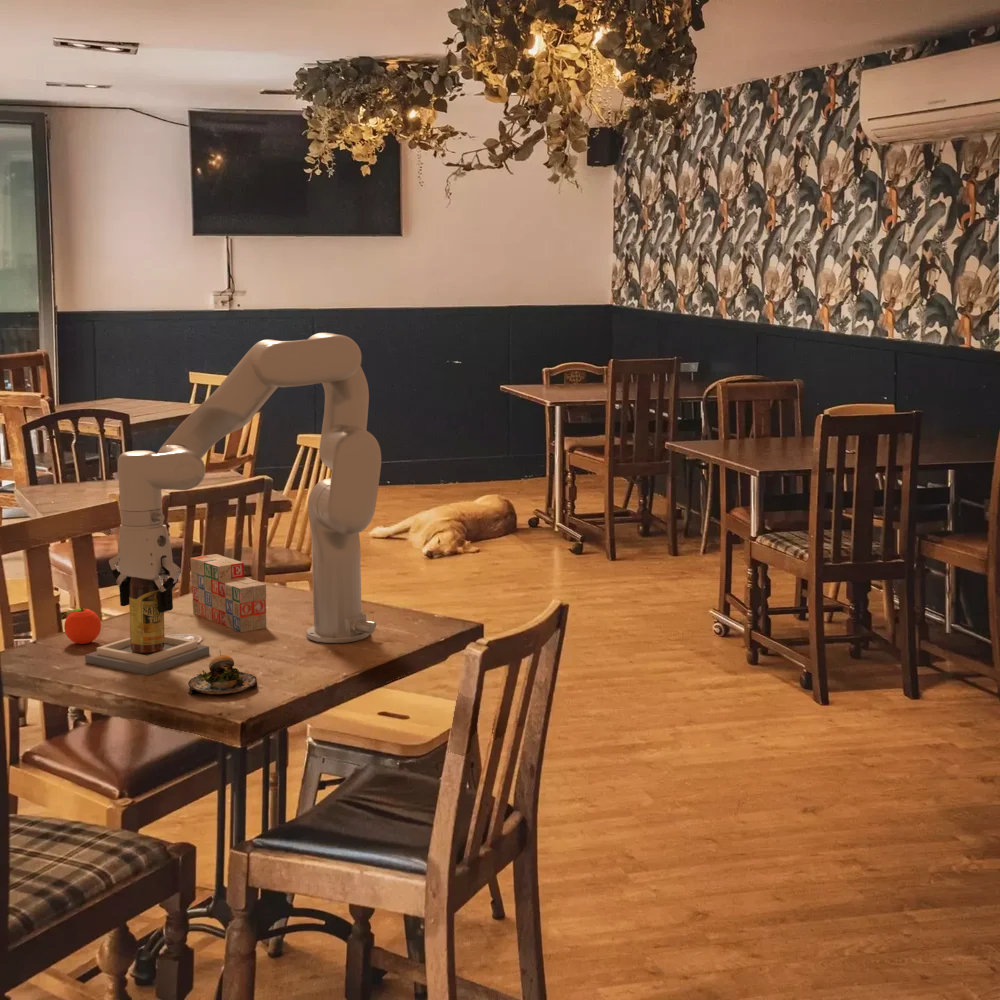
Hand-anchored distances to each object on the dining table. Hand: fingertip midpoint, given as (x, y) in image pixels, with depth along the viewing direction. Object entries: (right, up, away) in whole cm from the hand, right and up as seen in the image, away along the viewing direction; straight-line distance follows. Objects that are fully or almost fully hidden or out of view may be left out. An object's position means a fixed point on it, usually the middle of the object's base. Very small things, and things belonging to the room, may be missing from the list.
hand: (146, 607), depth 254 cm
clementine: (-16, -8, +12) cm, 22 cm away
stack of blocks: (+10, -5, +30) cm, 32 cm away
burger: (+18, -13, -17) cm, 28 cm away
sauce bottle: (0, -8, +1) cm, 8 cm away
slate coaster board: (0, -10, +2) cm, 10 cm away
